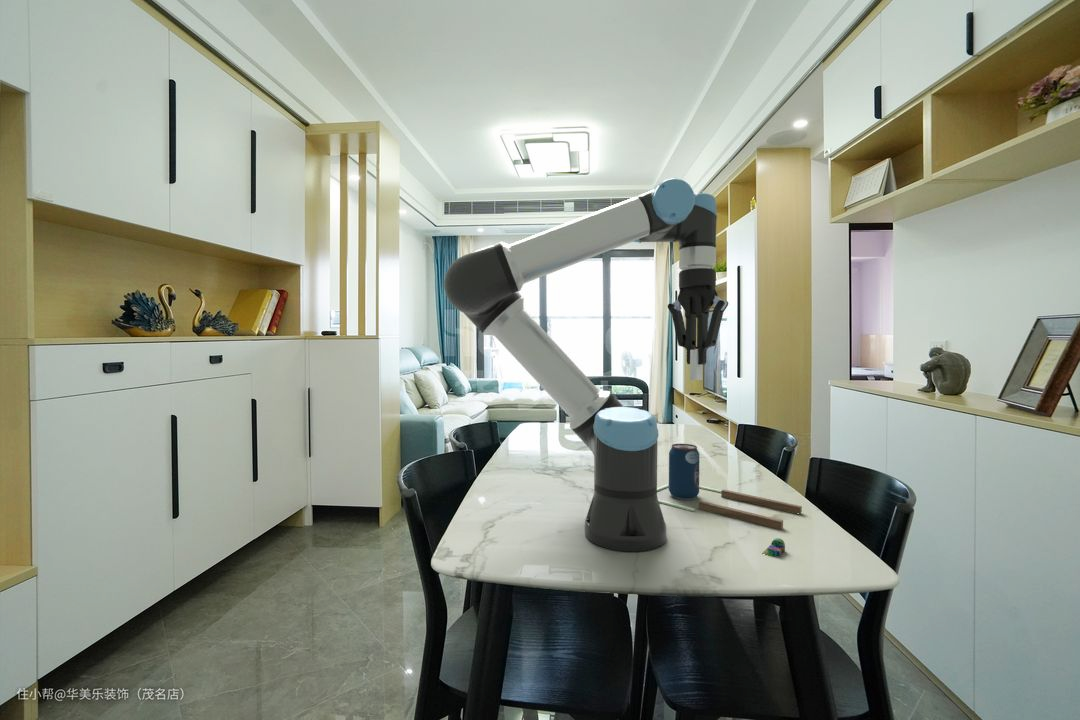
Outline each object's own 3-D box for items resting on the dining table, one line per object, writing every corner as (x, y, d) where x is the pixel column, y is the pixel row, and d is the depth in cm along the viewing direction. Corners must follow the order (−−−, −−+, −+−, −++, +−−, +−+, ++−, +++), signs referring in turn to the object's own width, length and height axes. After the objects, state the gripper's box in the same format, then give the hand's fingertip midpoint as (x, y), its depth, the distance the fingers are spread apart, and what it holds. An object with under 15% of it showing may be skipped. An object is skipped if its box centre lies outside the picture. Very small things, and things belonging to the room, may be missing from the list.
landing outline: (693, 511, 103) (693, 509, 103) (638, 497, 113) (638, 495, 113) (727, 493, 116) (728, 491, 116) (676, 481, 125) (676, 480, 125)
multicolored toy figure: (767, 548, 85) (767, 535, 85) (784, 553, 83) (785, 539, 83) (759, 556, 82) (760, 542, 82) (777, 561, 80) (777, 547, 80)
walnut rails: (780, 529, 93) (781, 522, 93) (698, 508, 105) (698, 502, 105) (801, 513, 102) (801, 506, 102) (723, 495, 114) (723, 489, 114)
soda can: (703, 500, 110) (703, 449, 110) (672, 500, 110) (673, 449, 110) (693, 491, 117) (694, 443, 117) (665, 491, 117) (665, 442, 117)
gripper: (734, 268, 100) (733, 380, 101) (678, 274, 109) (677, 377, 110) (719, 263, 95) (718, 382, 96) (660, 271, 104) (660, 379, 105)
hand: (696, 379), depth 103 cm, fingers closed
